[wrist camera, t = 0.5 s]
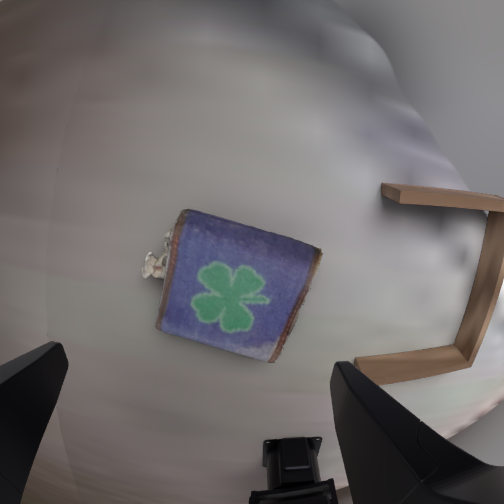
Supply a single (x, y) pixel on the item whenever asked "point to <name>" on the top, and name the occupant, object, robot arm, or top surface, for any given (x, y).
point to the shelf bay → (481, 299)
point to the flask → (231, 284)
